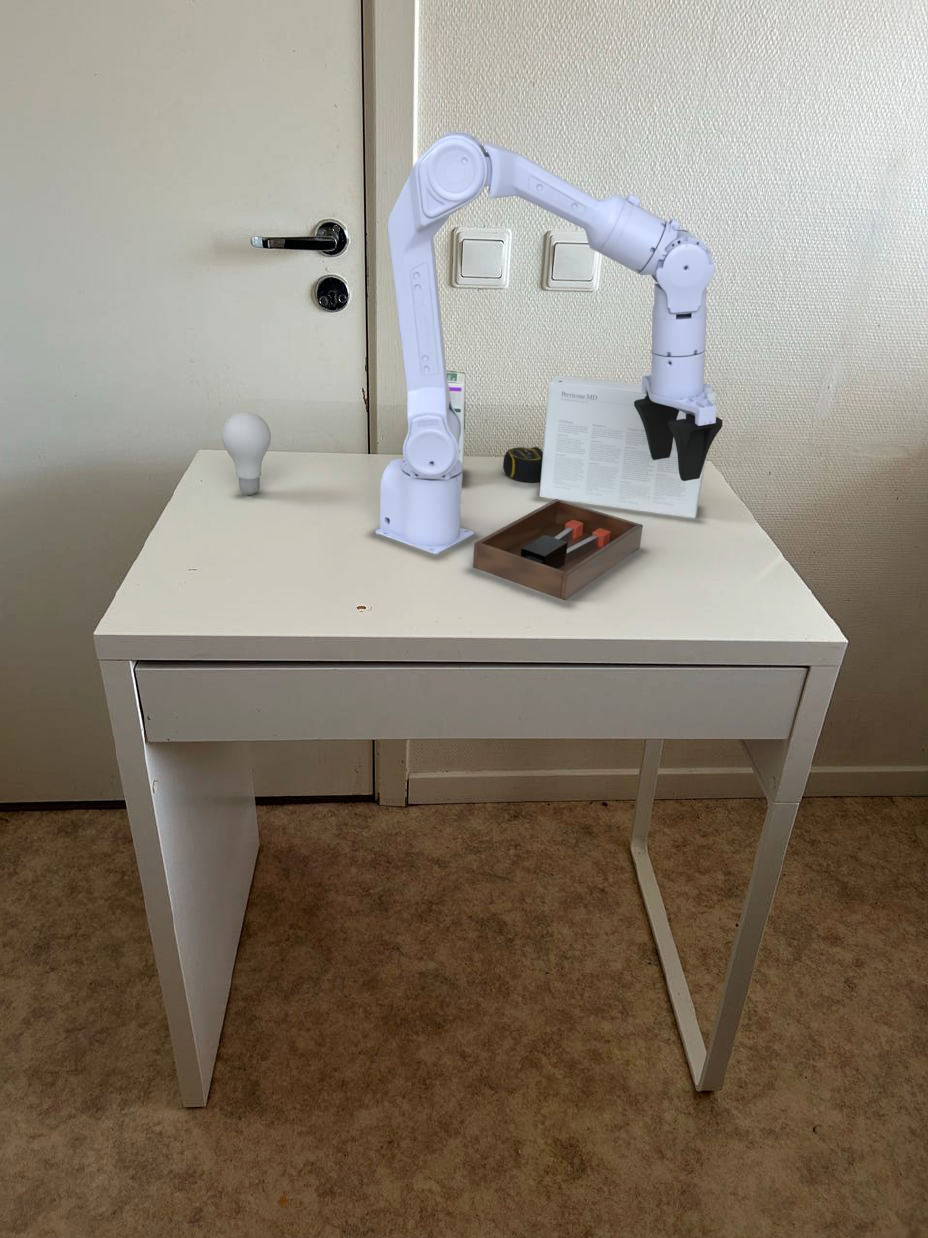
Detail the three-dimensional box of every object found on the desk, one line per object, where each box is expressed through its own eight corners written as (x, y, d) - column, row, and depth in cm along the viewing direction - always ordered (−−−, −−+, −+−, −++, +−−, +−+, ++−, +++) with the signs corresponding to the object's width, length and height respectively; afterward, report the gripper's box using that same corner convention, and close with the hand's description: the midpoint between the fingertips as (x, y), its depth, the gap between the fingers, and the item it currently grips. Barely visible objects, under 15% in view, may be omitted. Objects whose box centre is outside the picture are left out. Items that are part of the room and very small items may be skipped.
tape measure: (557, 485, 134) (560, 459, 132) (512, 488, 132) (514, 462, 130) (539, 468, 139) (542, 443, 137) (495, 471, 137) (497, 446, 135)
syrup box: (462, 486, 131) (467, 382, 124) (419, 484, 131) (422, 380, 124) (463, 472, 136) (468, 370, 129) (421, 470, 136) (424, 368, 129)
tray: (472, 570, 109) (474, 542, 107) (553, 524, 122) (555, 498, 120) (564, 604, 103) (567, 575, 101) (639, 551, 116) (643, 524, 114)
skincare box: (697, 506, 129) (717, 390, 122) (695, 521, 125) (717, 401, 117) (544, 485, 133) (554, 372, 126) (537, 499, 129) (547, 382, 121)
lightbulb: (283, 493, 126) (279, 412, 121) (251, 507, 122) (245, 423, 116) (249, 482, 129) (244, 402, 124) (216, 495, 125) (209, 413, 119)
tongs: (609, 543, 116) (612, 522, 115) (544, 586, 105) (547, 563, 104) (571, 531, 119) (573, 510, 117) (504, 571, 108) (506, 549, 107)
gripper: (745, 359, 99) (737, 482, 106) (681, 332, 111) (678, 444, 118) (682, 369, 98) (679, 493, 104) (625, 340, 110) (625, 453, 117)
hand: (674, 468), depth 111 cm, fingers open, 7 cm apart
